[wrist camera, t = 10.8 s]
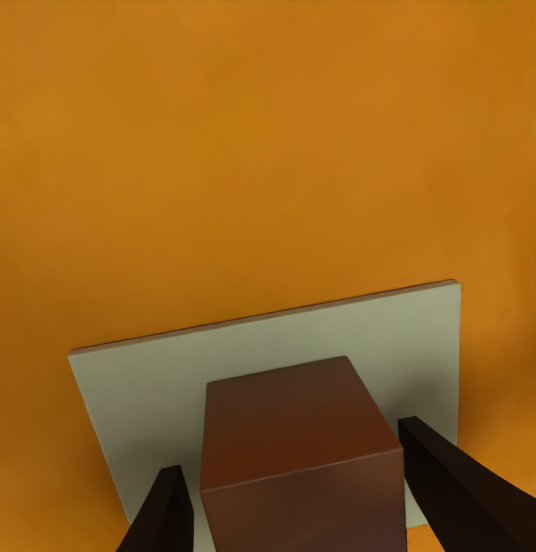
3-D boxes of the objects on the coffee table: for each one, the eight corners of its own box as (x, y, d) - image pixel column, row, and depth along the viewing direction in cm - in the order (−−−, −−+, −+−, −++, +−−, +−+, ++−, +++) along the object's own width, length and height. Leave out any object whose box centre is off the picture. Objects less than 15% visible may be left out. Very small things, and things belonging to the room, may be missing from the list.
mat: (153, 575, 15) (152, 586, 14) (71, 350, 11) (65, 356, 11) (450, 508, 15) (456, 518, 15) (454, 278, 12) (461, 282, 12)
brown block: (239, 521, 14) (246, 662, 10) (206, 381, 12) (198, 491, 8) (360, 494, 14) (411, 622, 10) (346, 354, 12) (404, 447, 8)
